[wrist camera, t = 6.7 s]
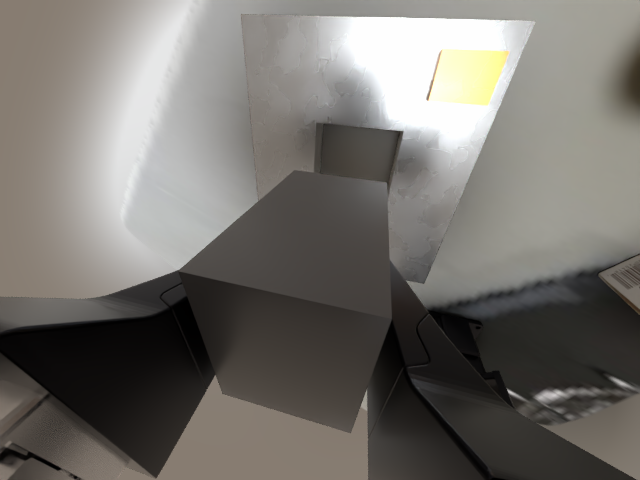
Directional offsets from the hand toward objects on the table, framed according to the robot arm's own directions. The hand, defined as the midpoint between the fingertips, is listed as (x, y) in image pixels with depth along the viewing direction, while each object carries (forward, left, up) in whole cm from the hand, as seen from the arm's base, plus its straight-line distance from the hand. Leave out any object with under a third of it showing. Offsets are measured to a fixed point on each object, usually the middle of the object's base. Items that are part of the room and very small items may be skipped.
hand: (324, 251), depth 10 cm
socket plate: (0, 0, -12) cm, 13 cm away
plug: (0, 0, -2) cm, 2 cm away
